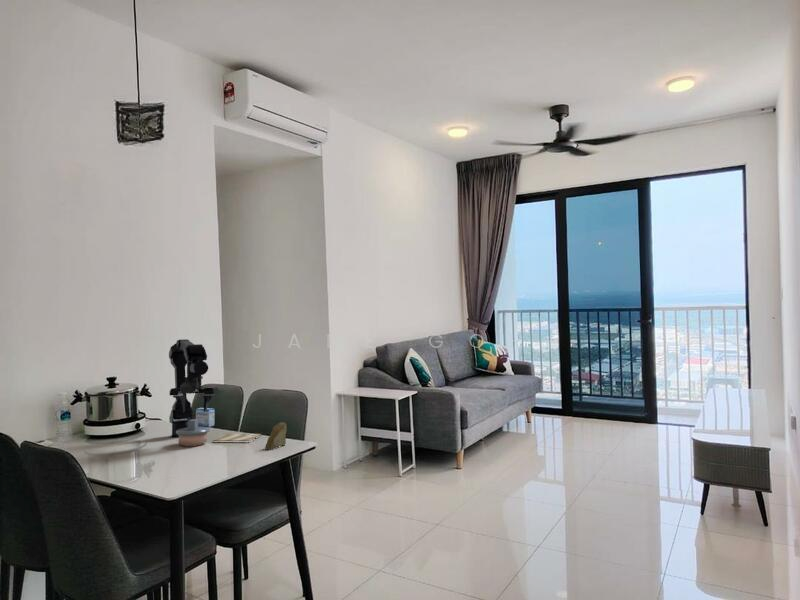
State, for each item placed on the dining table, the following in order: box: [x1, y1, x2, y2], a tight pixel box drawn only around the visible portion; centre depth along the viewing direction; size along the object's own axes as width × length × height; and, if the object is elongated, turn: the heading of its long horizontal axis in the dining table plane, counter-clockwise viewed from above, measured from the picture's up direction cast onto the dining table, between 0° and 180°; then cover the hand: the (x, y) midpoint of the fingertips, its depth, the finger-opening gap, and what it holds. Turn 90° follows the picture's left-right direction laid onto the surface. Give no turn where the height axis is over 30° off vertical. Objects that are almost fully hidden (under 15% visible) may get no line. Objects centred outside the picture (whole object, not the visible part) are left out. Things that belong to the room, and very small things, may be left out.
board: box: [212, 433, 262, 442], centre depth 232 cm, size 16×14×1 cm
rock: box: [264, 421, 287, 450], centre depth 217 cm, size 11×9×10 cm
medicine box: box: [195, 407, 216, 428], centre depth 266 cm, size 8×4×9 cm, turn 73°
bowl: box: [177, 432, 208, 447], centre depth 223 cm, size 11×11×5 cm
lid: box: [176, 418, 210, 435], centre depth 223 cm, size 13×13×5 cm
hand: (194, 412), depth 224 cm, fingers open, 9 cm apart
